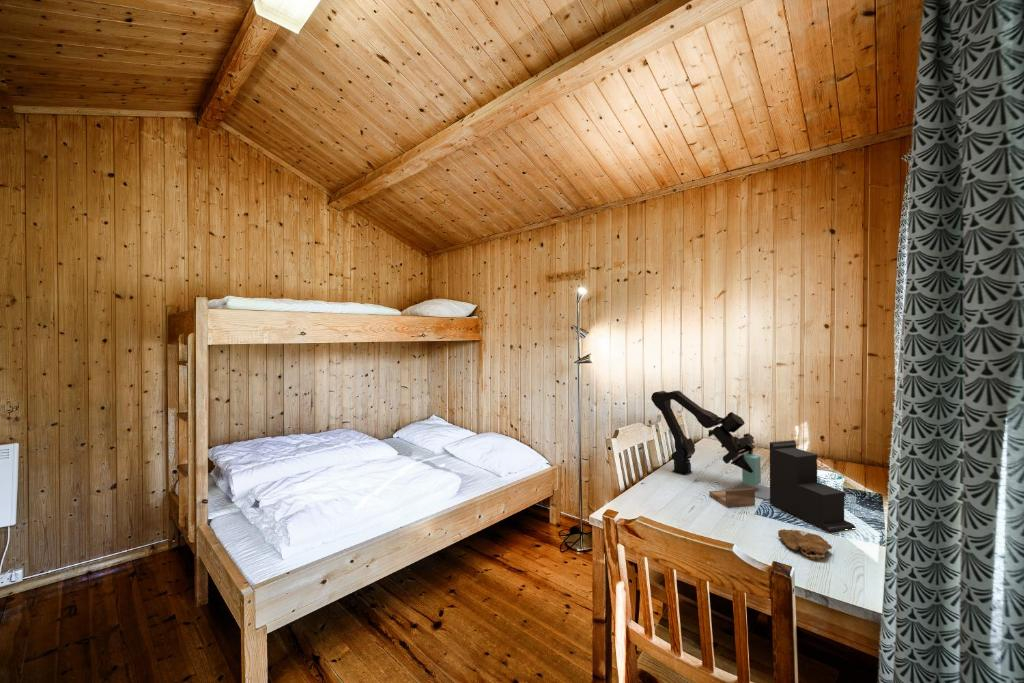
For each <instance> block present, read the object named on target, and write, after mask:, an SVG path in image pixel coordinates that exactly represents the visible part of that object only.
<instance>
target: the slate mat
mask: <svg viewBox="0 0 1024 683" xmlns="http://www.w3.org/2000/svg"><path fill="white" fill-rule="evenodd" d="M746 488H754V489H755V498H756V497H757V498H756V499H760V498H761V500H764V501H767V500H768V501H770V500H769V499H770V486H765V485H761V484H758V485H757V486H754V485H750V484H746V483H743V482H741V483H739V484H738V485H736V486H734V487H732V488H731V489H746Z"/></svg>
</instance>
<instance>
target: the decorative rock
mask: <svg viewBox="0 0 1024 683" xmlns="http://www.w3.org/2000/svg"><path fill="white" fill-rule="evenodd" d="M777 534H778V538H780V540H781V542H783V543H784V544H785V545H786V546H787V547H788V548H790V549H792V550H793V551H799V552H801V553H802V554H803V555H805V556H806V557H808V559H810V560H822V559H823V558H825V555H826V553H828V551H829V550H831V549H832V548H833V546H832V545H831V544H830V543H829V542H828V541H827V540H825V539H824V538H823V537H822V536H821V535H818V534H815V533H811V532H808V531H804V530H798V529H797V530H796V529H785V528H783V529H779V530H778V531H777Z"/></svg>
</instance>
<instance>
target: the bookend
mask: <svg viewBox="0 0 1024 683" xmlns="http://www.w3.org/2000/svg"><path fill="white" fill-rule="evenodd" d="M818 457H819V455H818V454H816V453H813V452H810V451H807V450H803V449H801V448H797V442H796V440H793V439H790V440H779V441H778V440H777V441H770V442H769V487H770V500H769V504H770V505H772V506H774V507H776V508H779V509H780V510H783V511H784V512H787V513H788V514H790V515H792V514H793V515H792V516H794V515H795V516H794V517H796V516H797V517H796V518H798V517H800V518H801V519H800V518H799V519H800V520H802V519H804V520H806V521H808V522H810V523H812V524H814V525H813V526H815V525H816V526H815V527H817V526H818V527H817V528H819V527H820V528H819V529H821V528H822V529H821V530H823V529H824V530H823V531H825V530H826V531H825V532H827V531H828V532H827V533H829V532H831V533H835V532H834V531H839V532H841V531H840V530H845V529H852V528H857V526H855V525H854V524H853V523H851V522H850V521H847V520H845V497H846V493H845V492H846V491H842V490H839V489H837V488H835V487H831V486H828V485H827V484H824V483H822V482H818ZM804 520H803V521H804ZM806 521H805V522H806ZM808 522H807V523H808ZM810 523H809V524H810ZM812 524H811V525H812Z"/></svg>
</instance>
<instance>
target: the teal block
mask: <svg viewBox="0 0 1024 683" xmlns="http://www.w3.org/2000/svg"><path fill="white" fill-rule="evenodd" d="M744 459H745V461H746V462H747V463H748V465H749V466H750V467H751V469H752V470H753V472H752V473H750V472H748V471H746V470H744V469H742V468H741V469H742V470H741V472H742V473H741V474H742V478H741V479H742V483H746V484H750V485H754V486H757V485H761V484H762V468H761V464H762V463H761V455H757V454H745V455H744Z"/></svg>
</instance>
